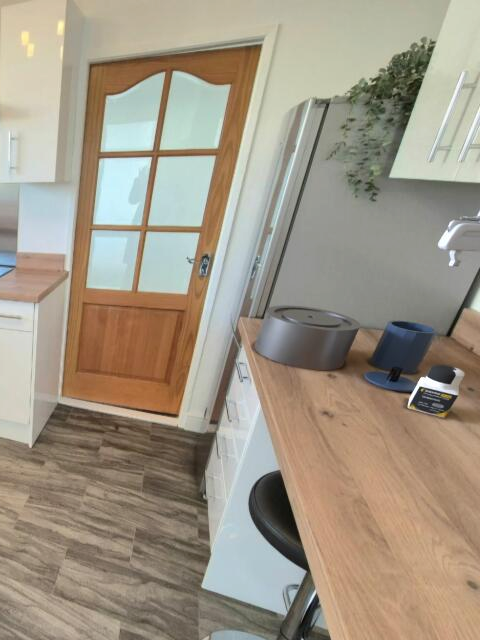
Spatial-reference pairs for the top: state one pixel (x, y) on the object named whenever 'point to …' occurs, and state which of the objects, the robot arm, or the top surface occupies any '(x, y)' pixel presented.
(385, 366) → the tin
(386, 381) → the tin lid
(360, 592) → the top surface
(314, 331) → the container
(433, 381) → the medicine bottle
